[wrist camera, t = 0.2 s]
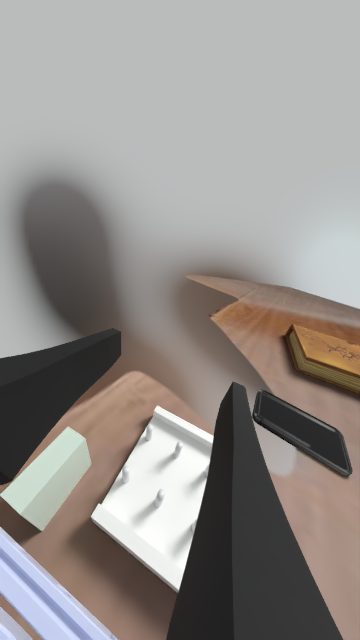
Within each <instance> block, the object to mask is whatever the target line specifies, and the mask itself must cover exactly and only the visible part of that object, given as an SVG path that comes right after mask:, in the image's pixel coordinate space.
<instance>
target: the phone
mask: <svg viewBox="0 0 360 640" xmlns="http://www.w3.org/2000/svg"><path fill="white" fill-rule="evenodd" d="M252 418H253V420H254V421H255V422H256V423H257V424H258V425H260V426H262V427H263V428H265V429H267V430H268V431H270V432H271V433H273V434H275V435H276V436H278V437H279V438H281V439H283V440H284V441H286V442H288V443H289V444H291V445H292V446H294V447H296V446H297V447H298V448H300V449H302V450H303V451H305V452H306V453H308V454H310V455H311V456H313V457H315V458H316V459H318V460H320V461H321V462H323V463H325V464H326V465H328V466H329V467H331V468H333V469H334V470H336V471H338V472H339V473H341V474H343V475H345V476H348V475H350V474H352V467H351V463H350V459H349V456H348V452H347V448H346V445H345V441H344V437H343V435H342V434H341V432H340V431H339V430H337V429H336V428H334V427H332V426H331V425H329V424H327V423H325V422H323V421H321V420H319V419H317V418H316V417H314V416H312V415H310V414H308V413H306V412H304V411H302V410H301V409H299V408H297V407H295V406H293V405H291V404H289V403H287V402H286V401H284V400H282V399H280V398H278V397H276V396H274V395H273V394H271V393H269V392H267V391H265V390H259V391H258V393H257V395H256V399H255V404H254V409H253V413H252Z"/></svg>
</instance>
